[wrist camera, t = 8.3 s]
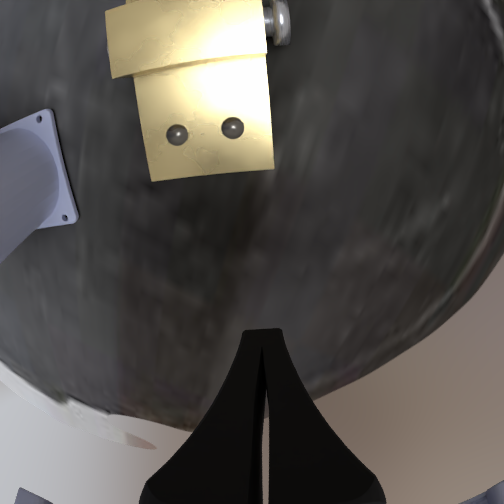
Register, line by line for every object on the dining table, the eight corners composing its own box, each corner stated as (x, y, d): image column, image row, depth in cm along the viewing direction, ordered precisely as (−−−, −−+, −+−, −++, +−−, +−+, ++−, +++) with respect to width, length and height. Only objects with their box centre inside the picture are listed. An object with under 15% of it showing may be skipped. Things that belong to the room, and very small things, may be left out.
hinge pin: (125, 71, 14) (105, 71, 12) (121, 29, 13) (100, 24, 10) (286, 47, 14) (292, 41, 11) (282, 3, 12) (286, -9, 10)
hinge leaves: (154, 178, 18) (135, 200, 15) (127, -61, 9) (104, -81, 7) (273, 166, 17) (277, 185, 14) (248, -85, 9) (246, -112, 6)
